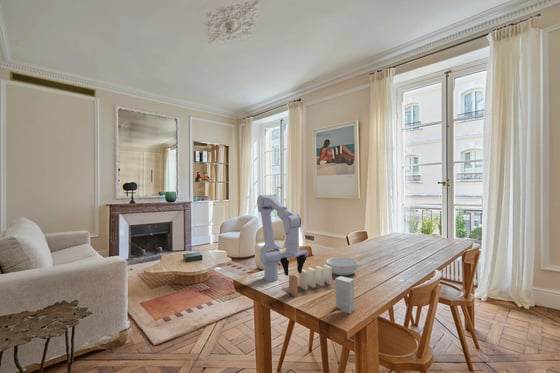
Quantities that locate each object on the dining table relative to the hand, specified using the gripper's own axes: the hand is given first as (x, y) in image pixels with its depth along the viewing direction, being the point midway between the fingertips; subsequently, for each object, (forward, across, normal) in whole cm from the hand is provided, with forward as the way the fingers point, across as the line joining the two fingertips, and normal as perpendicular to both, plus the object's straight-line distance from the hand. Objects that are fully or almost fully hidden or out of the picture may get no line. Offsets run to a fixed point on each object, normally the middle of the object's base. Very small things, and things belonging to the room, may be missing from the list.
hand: (293, 273), depth 110 cm
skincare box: (+10, +12, -20) cm, 25 cm away
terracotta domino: (+9, 0, 0) cm, 9 cm away
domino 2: (+9, +12, +4) cm, 16 cm away
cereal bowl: (+10, +37, +13) cm, 40 cm away
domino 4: (+9, +21, +4) cm, 23 cm away
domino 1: (+9, +8, +4) cm, 12 cm away
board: (+10, +11, +2) cm, 15 cm away
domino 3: (+9, +16, +4) cm, 19 cm away
